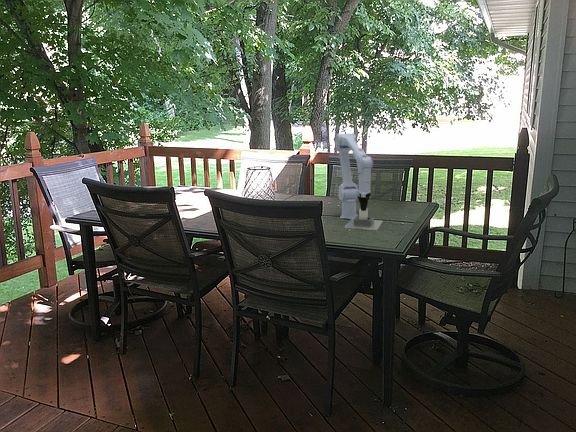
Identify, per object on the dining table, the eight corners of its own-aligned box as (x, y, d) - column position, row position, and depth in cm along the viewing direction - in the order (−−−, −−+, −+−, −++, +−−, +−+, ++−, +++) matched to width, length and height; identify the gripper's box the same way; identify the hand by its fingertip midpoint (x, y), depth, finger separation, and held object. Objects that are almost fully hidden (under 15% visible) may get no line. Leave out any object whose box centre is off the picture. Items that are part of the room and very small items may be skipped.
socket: (351, 220, 262) (351, 214, 262) (382, 222, 257) (382, 215, 257) (344, 228, 248) (344, 221, 247) (377, 230, 243) (377, 223, 242)
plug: (359, 222, 255) (359, 208, 253) (367, 222, 254) (367, 208, 252) (358, 224, 251) (359, 210, 249) (367, 224, 250) (367, 210, 248)
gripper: (357, 179, 255) (357, 205, 258) (355, 184, 242) (354, 211, 245) (371, 179, 254) (371, 206, 257) (370, 184, 240) (369, 212, 243)
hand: (364, 209), depth 251 cm, fingers open, 7 cm apart
